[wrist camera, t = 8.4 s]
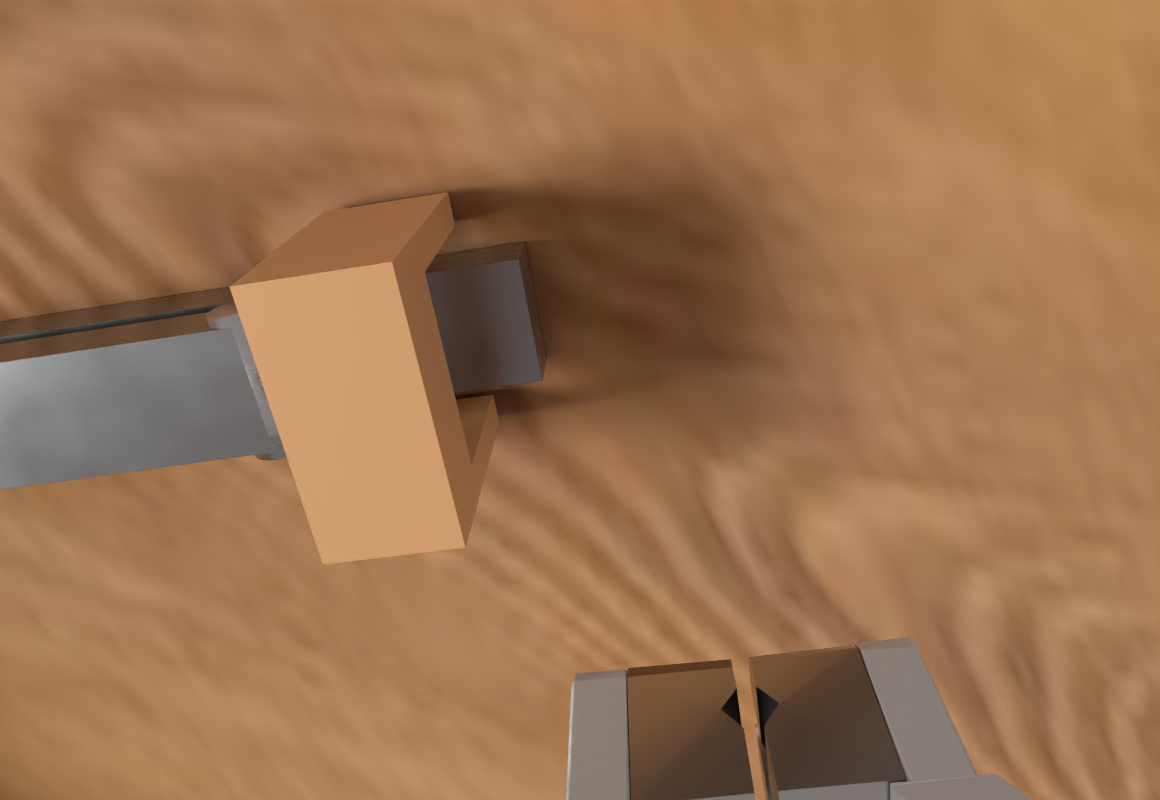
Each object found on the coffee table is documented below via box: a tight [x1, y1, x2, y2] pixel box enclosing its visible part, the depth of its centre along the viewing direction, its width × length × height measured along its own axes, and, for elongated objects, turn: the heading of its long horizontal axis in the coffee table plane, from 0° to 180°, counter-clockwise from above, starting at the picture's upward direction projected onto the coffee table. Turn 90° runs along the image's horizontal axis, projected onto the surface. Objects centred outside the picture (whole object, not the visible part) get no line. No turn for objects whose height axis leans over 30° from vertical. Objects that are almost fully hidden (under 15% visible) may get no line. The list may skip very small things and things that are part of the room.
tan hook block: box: [230, 192, 499, 564], centre depth 20 cm, size 3×6×6 cm, turn 9°
